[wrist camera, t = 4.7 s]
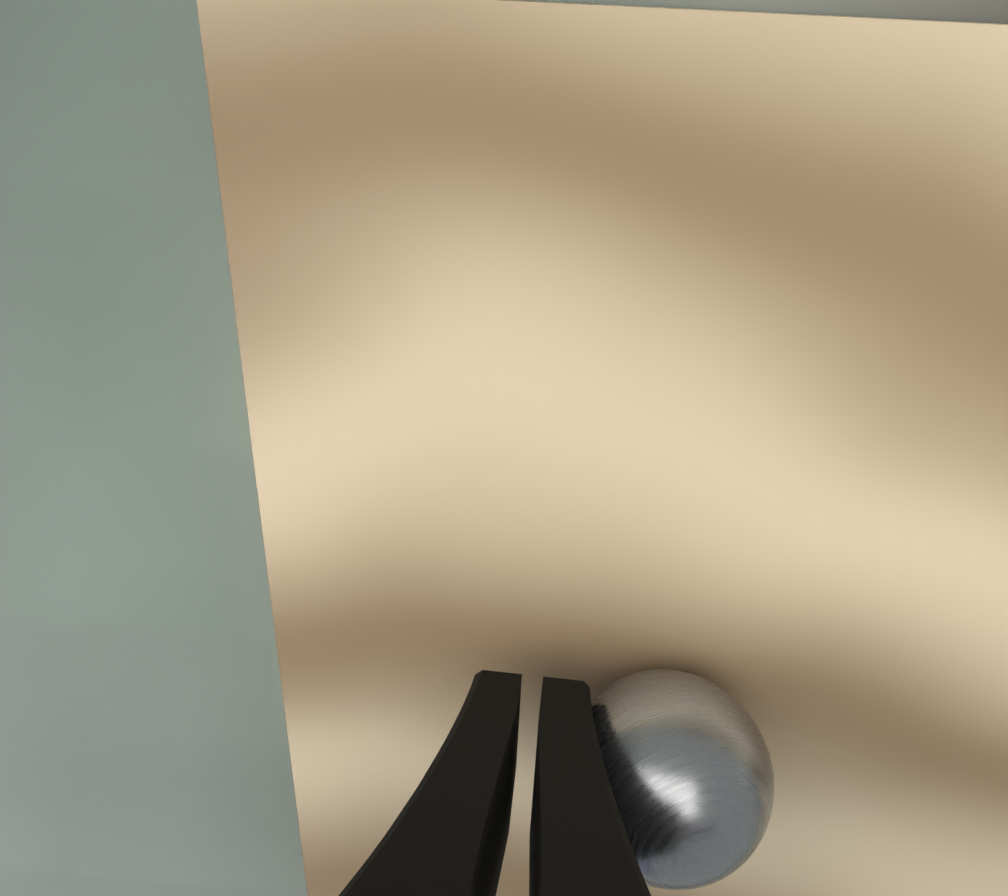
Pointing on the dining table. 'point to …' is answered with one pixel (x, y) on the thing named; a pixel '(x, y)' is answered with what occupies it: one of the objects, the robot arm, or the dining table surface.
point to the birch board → (632, 400)
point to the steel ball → (684, 775)
